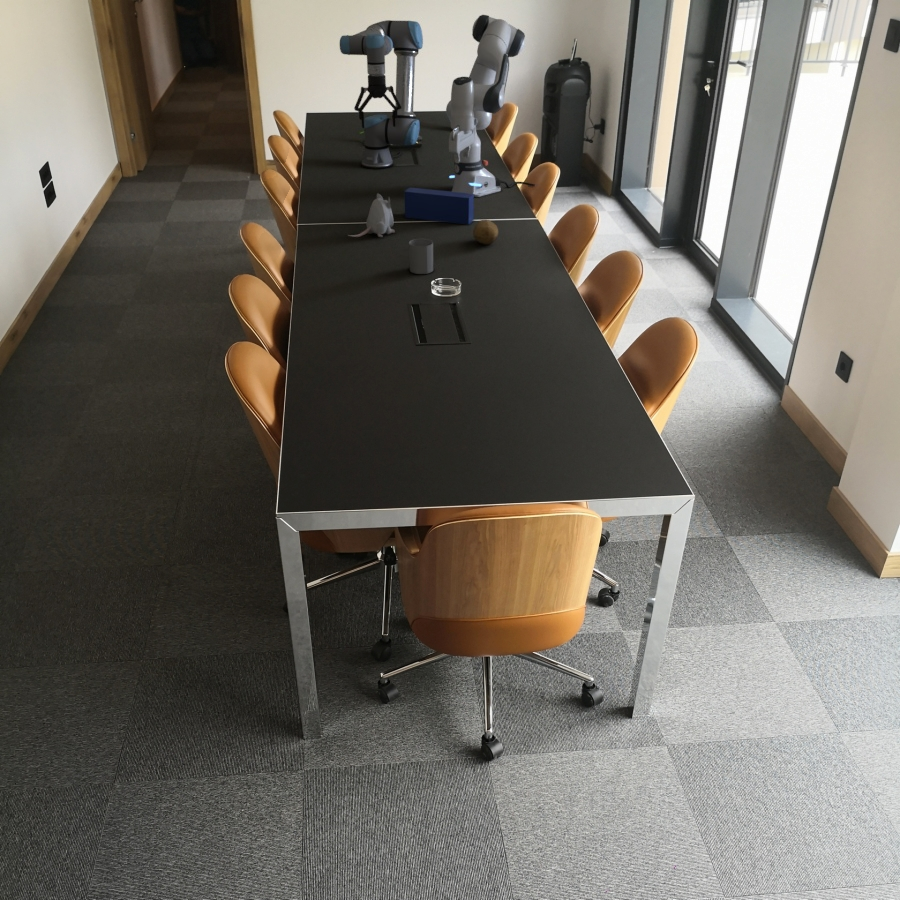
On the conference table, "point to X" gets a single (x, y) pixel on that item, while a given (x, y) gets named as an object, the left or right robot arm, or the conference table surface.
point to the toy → (379, 218)
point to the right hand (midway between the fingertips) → (461, 159)
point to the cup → (421, 256)
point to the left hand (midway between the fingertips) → (378, 126)
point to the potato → (485, 232)
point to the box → (439, 205)
